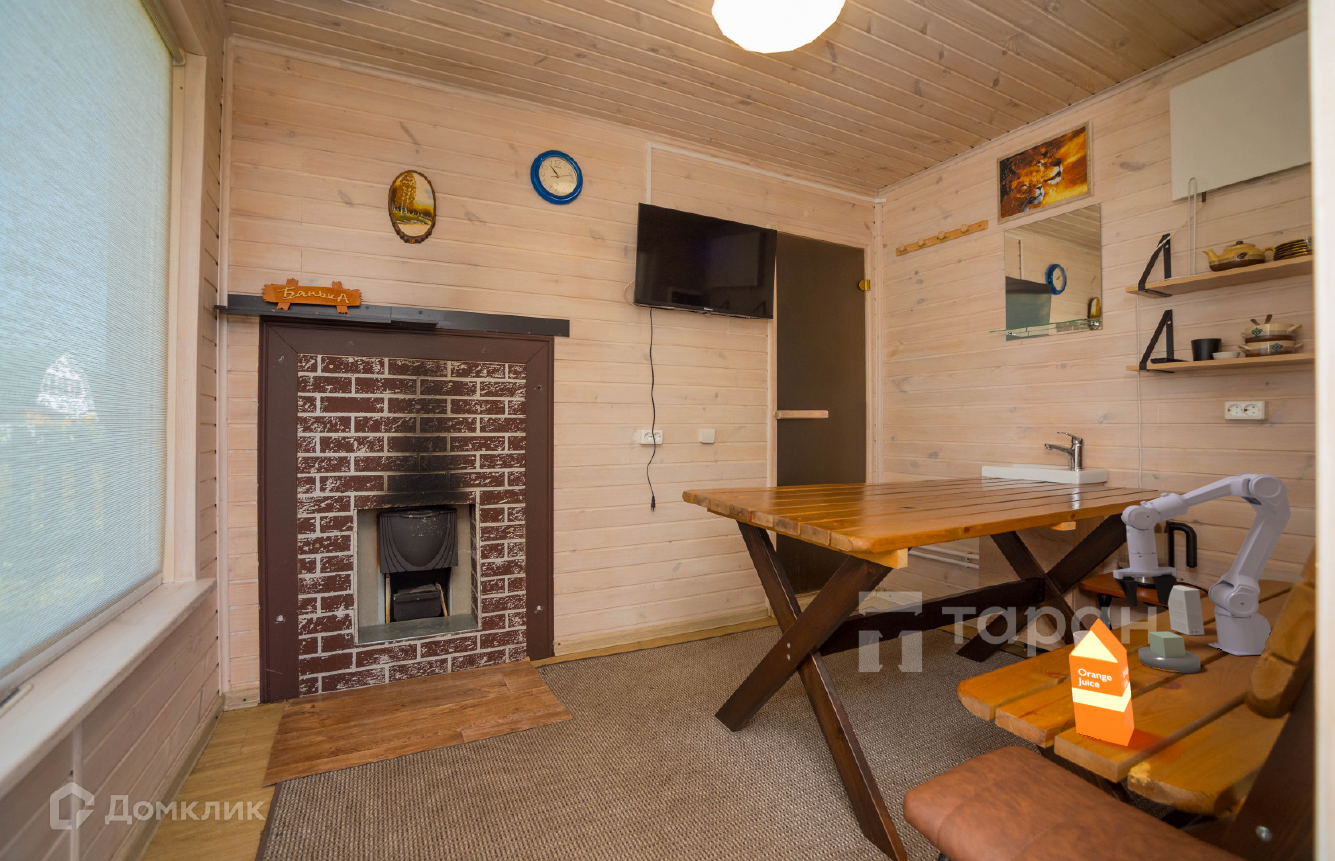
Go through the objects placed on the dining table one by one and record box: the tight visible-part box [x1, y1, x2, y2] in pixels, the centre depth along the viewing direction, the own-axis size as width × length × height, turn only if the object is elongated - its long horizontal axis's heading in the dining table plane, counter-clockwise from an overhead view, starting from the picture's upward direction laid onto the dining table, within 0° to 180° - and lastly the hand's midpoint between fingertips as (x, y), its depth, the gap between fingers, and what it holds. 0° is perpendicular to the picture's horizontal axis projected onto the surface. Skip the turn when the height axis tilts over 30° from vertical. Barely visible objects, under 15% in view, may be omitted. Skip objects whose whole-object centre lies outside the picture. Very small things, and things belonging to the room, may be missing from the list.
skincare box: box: [1167, 585, 1205, 636], centre depth 158 cm, size 6×4×12 cm
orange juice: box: [1068, 617, 1135, 747], centre depth 109 cm, size 8×9×20 cm
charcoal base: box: [1138, 645, 1202, 674], centre depth 137 cm, size 11×11×2 cm
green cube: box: [1148, 630, 1186, 658], centre depth 137 cm, size 4×4×4 cm
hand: (1148, 605), depth 150 cm, fingers open, 7 cm apart
